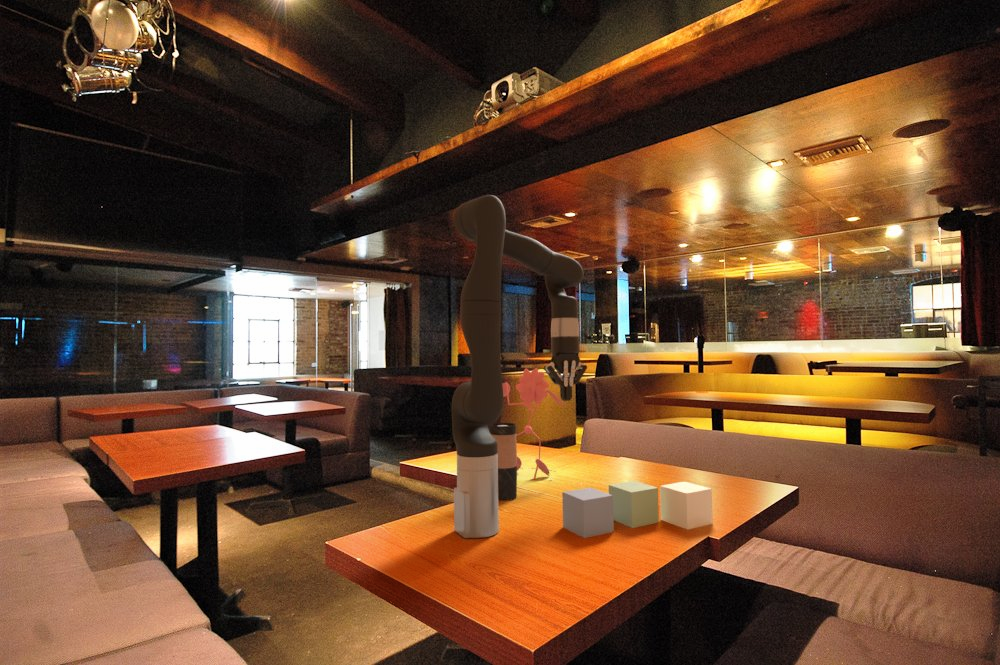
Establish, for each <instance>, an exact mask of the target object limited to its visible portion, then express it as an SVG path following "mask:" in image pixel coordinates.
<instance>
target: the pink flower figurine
mask: <svg viewBox="0 0 1000 665" xmlns="http://www.w3.org/2000/svg"><path fill="white" fill-rule="evenodd" d="M544 378H545V373H544V372H543V371H539V369H538V368H534V369H532V370H531V371H530V370H529V369H528V368H524V370H523V372H522V375H521V374H520V376H519V378H518V379H519V383H517V384H516V385H515V390H516V391H517V392H519V393H520V395H519V400H522V401H521V402H514V403H513V402H511V403H510V393H511V386H510V384H509V383H508V381H506V382H502V385H503V398H504V397H506V398H507V405H508V406H514V405H515V406H516V405H522V406H524V407H525V408H527V409H528V410H530V411H531V412H530V417H529V422H528V425H526V426H524V428H523V431H522V432H519V433H518V434H517V433H516V437H518V436H519V435H521V434H524V433H525V434H526V435H530V434H533V435H534V436H535V437H536V438H537V439H538V440H539V442H538V443H539V446H538V458H535V464H536V467H532V469H535V472H534V475H533V479H534V480H536V478H537V473H538V470H540V471H541V472H542V473H544V474H545V475H546V476H548V477H550V472H551V471H552V472H555V473H556V472H557V471H555V470H551V469H549V468H548V466H547V465H546V464H545V463H544V462H543V460H541V438H540V437H539V436H538V435H537V433H535V432H534V431H533V428H532V426H531V421H532V417H533V414H534V411H533V410H535V411H536V410H537V409H538V407H539V405H540V404H541V403H542V401H543V399H545V398H546V397H547V394H549V396H550V397H551V398H552V399H553V400H554V401H555V402H556V403H557V404H559V405H560V406H562V407H564V404H563V402H562V401H561V400H560V399H561V398H559V397H558V396H557V395H556V394H555V393H554V392H553V391H552V390H550V389H549V386H550V383H549V382H548V381H547V380H544ZM533 402H534V403H535V405H536V406H535V407H534V406H532V404H533ZM522 464H523V463H522V460H521V457H519V456H517V472H518V471H519V470H520V469H521V468H522ZM552 481H553V480H549V482H552Z"/></svg>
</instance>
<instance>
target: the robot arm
mask: <svg viewBox="0 0 1000 665" xmlns="http://www.w3.org/2000/svg"><path fill="white" fill-rule="evenodd" d="M453 224H454V228H455V229H456V231H457V233H458V234H459V235H460V236H461V237H462V238H464V239H465V240H467V241H470V242H472V243H475V244H476V245H475V254H474V258H473V262H472V266H471V268H470V270H469V272H468V275H467V276H466V279H465V281H464V284H463V287H462V289H461V294H460V307H459V308H460V310H459V311H460V316H459V318H460V327H461V331H462V334H463V337H464V340H465V343H466V346H467V348H468V352H469V355H470V361H471V376H470V377H471V378H470V381H466V382H462V383H460V385H458V386H457V387H456V389H455V390H454V392H453V395H452V397H451V398H452V400H451V426H452V427H451V428H452V437H453V441H454V444H455V447H456V448H455V449H456V487H454V488H453V526H454V528H453V529H454V531H455V532H456V533H457V534H458V535H460V536H461V537H462V538H463V539H469V538H472V539H473V538H474V539H480V538H488V537H492V536H495V535H496V534H497V533H499V530H500V526H499V525H500V518H499V517H500V516H499V515H500V514H499V500H498V445H497V441H496V440H495V438H494V437H493V436H492V435H491V433H490V431H489V425H493V424H494V423H496V421H498V419H499V418H500V417H501V414H502V411H503V407H504V397H503V385H502V384H503V376H502V366H501V365H502V364H501V322H502V273H503V272H502V267H503V255H504V256H506V257H508V258H511V259H512V260H514V261H516V262H518V263H520V264H521V265H523V266H524V267H526V268H527V269H529V270H531V271H533V272H535V273H536V274H537V275H540V276H544V283H545V287H546V291H547V295H548V298H549V300H550V304H551V325H550V345H551V347H550V350H551V355H552V356H551V358H550V363H549V364H548V365H544V366H543V370H544V371H545V373H546V374H547V376H548V378H549V379H550V380H551V382H552V383H553V384H554V385H557V386H559V392H560V395H559V396H560V399H561V400H562V401H563V402H569V401H572V398H573V387H574V385H578V384H579V383H580V380H581V379H582V378H583V375H584V374H585V372H586V370H587V368H588V366H587V365H586V364H583V363H582V362H581V358H580V356H579V355H580V354H579V353H580V350H581V349H580V347H581V346H580V324H579V310H578V307H579V306H578V299H577V298H576V297H575V296H570V295H567V292H566V290H565V288H571V287H572V288H573V287H577V286H579V284H581V282H582V281H583V279H584V275H585V274H584V270H583V267H582V265H581V264H580V262H578V260H576V259H575V258H572V257H570V256H567V255H565V254H562V253H559V252H555V251H553V250H551V249H550V248H549V247H547V246H546V245H545V244H543V243H541V242H540V241H538V240H536V239H534V238H532V237H529V236H526V235H523V234H519V233H517V232H514V231H512V230H511V231H510V230H508V229H506V225H507V218H506V210H505V207H504V204H503V203H502V201H501V200H500V198H498V197H497V196H496V195H492V194H486V195H481V196H479V197H476V198H473V199H471V200H467V201H466V202H463V203H462V204H460V205H459V206H457V208H456V209H455V210H454V214H453Z"/></svg>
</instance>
